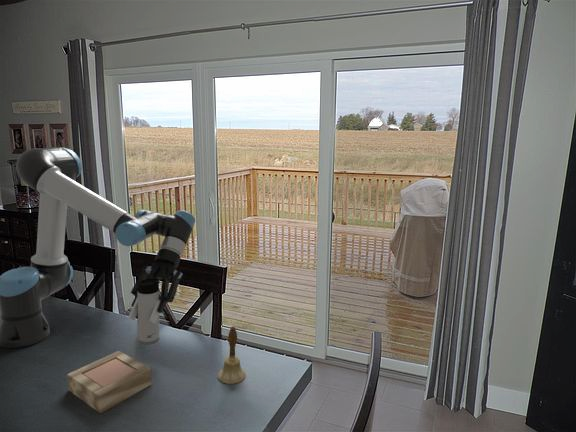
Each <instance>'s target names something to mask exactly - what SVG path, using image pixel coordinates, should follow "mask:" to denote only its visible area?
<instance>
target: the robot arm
mask: <svg viewBox="0 0 576 432" xmlns="http://www.w3.org/2000/svg"><path fill="white" fill-rule="evenodd" d="M82 165H83V164H82V160H81V159H80V157H79V156H78V155H77V153H76V152H74V150H72V149H70V148H67V147H61V146H59V147H58V146H53V147H43V148H42V147H38V148H37V147H35V148H34V147H33V148H29V149H27V150H25V151H24V152H22V153H21V154H20V155H19V157H18V158H17V161H16V168H15V169H16V172H17V175H18V177H19V178H20V180H21V181H22V182H23V183H25V185H26V186H28V187H30V188H31V189H33V190H34V191H36V192H38V193H39V203H38V204H39V205H38V217H37V218H38V221H37V234H36V235H37V236H36V237H37V238H36V252H35V254H33V255H32V256H31V257H30V266H20V267H17V268H12V269H10V270H8V271H5V272H4V273H2V274H1V275H0V318H1V320H0V347H2V348H6V349H17V348H25V347H28V346H32V345H35V344H37V343H40V342H41V341H43V340H45V339H46V338H47V337H48V336H50V333H51V331H50V324H49V322H48V321H47V319H46V316H45V315H44V313H43V306H42V300H44V299H45V298H48V297H50V296H51V295H53V294H55V293H58V292H59V291H61V290H63V289H64V288H66V287H67V286H68V285H69V284H70V283H71V281H72V279H73V275H74V269H73V266H72V265H70V264H71V263H70V261H69V259H68V256H67V255H65V254H64V250H65V241H66V240H65V238H66V237H65V236H66V224H67V214H68V207H70V208H71V209H73V210H75V211H77V212H79V213H80V214H82V216H85V217H87V218H88V219H90V220H92V221H94V223H97V224H99V225H100V226H102V227H104V228H105V229H107V230H108V231H110V232H111V233H113V234H114V235H115V238H116V240H117V241H118V243H119V244H120V245H122V246H125V247H132V246H135V245H138V244H140V243H142V242H143V241H144V240H146V239H149V238H150V237H153V236H155V235H157V236H161V237H164V238H163V240H162V242H161V245H160V247H159V250H158V251H157V254H156V256H155V258H154V262H153V263H152V264H151V266H147V265H145V264H144V265H142V267H141V272H140V274H139V276H138V278H137V280H136V281H135V284H134V285H133V288H132V289H131V291H130V294H131V295H133V296H134V298H133V300H132V303H131V305H130V306H131V309H130V312H129V315H128V318H129V319H131V320H132V321H135V320H136V318H137V317H138V299H137V290H138V288H137V284H138V283H139V282H141V281H142V280H145V279H151V278H155V279H158V280H159V281H160V280H161V289H160V290H161V291H160V298H159V300H157V303H156V305H155V307H154V310H153V312H152V315H151V317H150V319H149V321H150V322H151V323H153V324H155V323H156V320H157V318H158V315H159V316H160V314H162V313H163V311H164V309H165V307H166V304H167V303H173V302H174V300H175V296H176V293H177V291H178V287H179V284H180V281H181V280H182V278H183V277H184V274H183V273H182V271H181V270H177V268H178V266H179V264H180V261H181V257H182V256H183V253H184V251H185V248H186V247H187V244H188V241H189V239H190V236H191V234H192V232H193V231H194V227H195V224H196V218H195V216H194V215H193V214H192V213H191V212H189V211H187V210H183V209H181V210H177V211H175V213H174V215H171V214H166V213H161V212H157V211H152V210H150V209H139V210H138V211H136V213H135V214H134V215H132V214H131V213H129V212H127V211H125V210H123V209H122V208H121V207H119V206H117V205H116V204H115V203H114V204H113V203H112V202H111V201H109V200H108V199H106V198H104V197H102V196H101V195H99V194H98V193H95V192H94V191H92V190H90V189H89V188H87V187H85V186H84V185H82V184H80V183H79V182H77V181H75V179H77V178H78V177H79V176H80V175H81V174H82V173H81V172H82V169H83V166H82ZM172 276H173V277H172ZM171 277H172V280H170V279H171ZM170 281H171V282H170ZM169 284H170V286H169Z"/></svg>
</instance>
